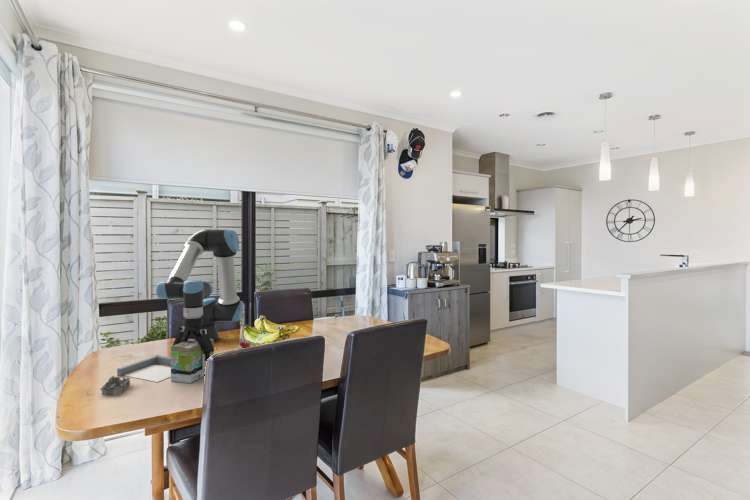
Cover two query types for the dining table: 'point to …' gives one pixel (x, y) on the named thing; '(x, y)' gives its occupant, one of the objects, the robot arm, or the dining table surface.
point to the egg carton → (115, 385)
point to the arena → (148, 369)
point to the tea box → (187, 361)
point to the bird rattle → (244, 345)
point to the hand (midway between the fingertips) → (192, 366)
